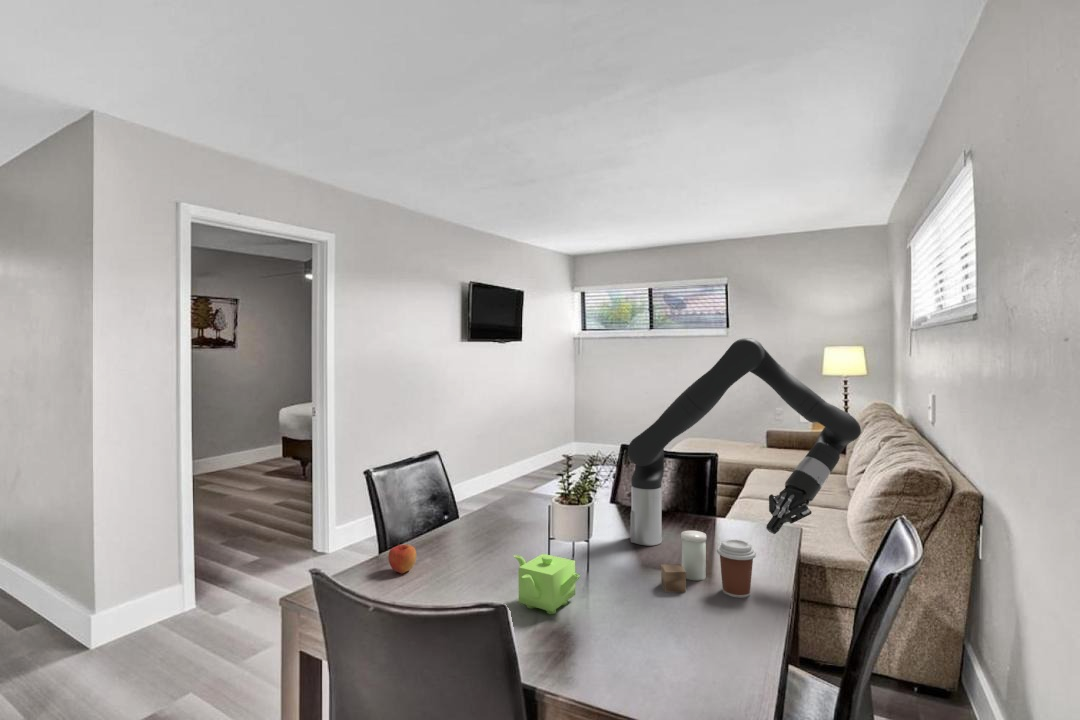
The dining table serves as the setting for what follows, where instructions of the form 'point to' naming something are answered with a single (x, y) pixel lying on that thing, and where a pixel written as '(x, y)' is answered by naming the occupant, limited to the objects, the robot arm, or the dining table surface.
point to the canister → (694, 554)
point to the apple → (402, 558)
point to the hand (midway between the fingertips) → (770, 531)
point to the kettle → (546, 582)
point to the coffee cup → (736, 567)
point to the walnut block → (673, 578)
